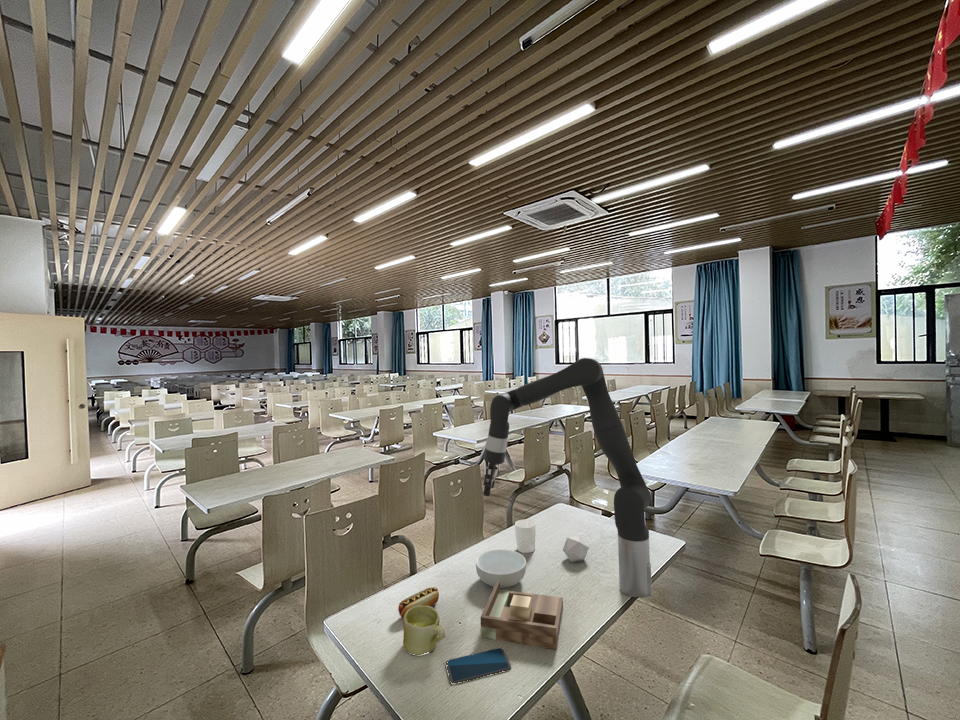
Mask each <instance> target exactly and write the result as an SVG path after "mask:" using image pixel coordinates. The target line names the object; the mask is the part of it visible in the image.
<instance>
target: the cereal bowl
mask: <svg viewBox="0 0 960 720" xmlns="http://www.w3.org/2000/svg"><path fill="white" fill-rule="evenodd" d="M475 569H476V574H477V576H478V577H479V579H480V580H481V581H482V582H483V583H484V584H487V585H488V586H491V587H494V586H495V584H496V582H497V581H498V582H500V589H502V588H509V587H512V586H515V585H516V584H518V583H519V582H521V581H522V579H523V578H524V576H525V574H526V569H527V560H526V558H525V557H524V555H523V554H521V553H520V552H517V551H516V550H511V549H504V548H503V549H491V550H488V551H485V552H483V553H481V554H480V555H479V556H478V557H477V558H476V560H475Z"/></svg>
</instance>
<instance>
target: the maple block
mask: <svg viewBox="0 0 960 720" xmlns="http://www.w3.org/2000/svg"><path fill="white" fill-rule="evenodd" d="M531 617H532V598H531V597H529V596H521V595H513V598H512V601H511V604H510V618H511V619H513V620H520V621H527V622H530V621H531Z"/></svg>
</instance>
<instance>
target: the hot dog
mask: <svg viewBox="0 0 960 720" xmlns="http://www.w3.org/2000/svg"><path fill="white" fill-rule="evenodd" d="M439 597H440V592H439V590H438V587H435V586H433V587H427V588H425V589H422V590H420V591H418V592H417V593H415V594H412V595H410V596H408V597H407V598H405V599H403V600H401V601H400V602H399V603H398V608H397V610H398V614H399V616H400V617H401V618H402V619H404V615H405V613H406V612H407V610H409V609H410V608H413V607H415V606H420V605H421V606H430V607H434V606H435V605H436V604H437V602H438V601H439Z"/></svg>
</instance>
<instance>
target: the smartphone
mask: <svg viewBox="0 0 960 720" xmlns="http://www.w3.org/2000/svg"><path fill="white" fill-rule="evenodd" d="M448 660H449V661H448ZM448 660H446V661H445V663H446V665H448V666H447V670H448V673H449V678H450V681H451V682H452V683H458V682H463V681H467V680H468V681H467V682H470V681H469V680H471V681H474V680H473V679H475V680H477V679H476V678H479V679H481V678H480V677H483V676H487V675H490V674H494V675H496V674H495V673H498V674H500V673H499V672H502V671H506V672H508V671H507V670H509V671H510V670H511V669H512V665H511V662H510V660H509V658H508V655H507V654H506V652H505V649H503V648H501V647H498V648H493V649H489V650H485V651H480V652H475V653H471V654H469V655H463V656H459V657H455V658H451V659H448ZM447 662H448V663H447ZM502 673H503V672H502ZM487 677H488V676H487ZM449 678H448V679H449ZM483 678H484V677H483Z"/></svg>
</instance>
